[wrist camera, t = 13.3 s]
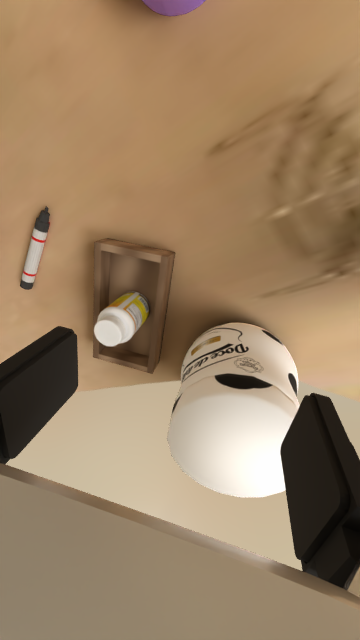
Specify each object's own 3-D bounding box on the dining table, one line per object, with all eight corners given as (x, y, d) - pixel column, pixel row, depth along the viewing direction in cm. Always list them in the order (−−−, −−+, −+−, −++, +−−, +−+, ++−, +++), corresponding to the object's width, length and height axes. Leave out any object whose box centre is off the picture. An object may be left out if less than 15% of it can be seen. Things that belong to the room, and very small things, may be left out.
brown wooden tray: (175, 252, 39) (168, 257, 35) (159, 360, 48) (152, 373, 44) (107, 238, 40) (94, 241, 37) (104, 346, 49) (93, 357, 45)
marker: (34, 287, 48) (26, 290, 46) (25, 281, 47) (17, 285, 46) (56, 209, 41) (48, 209, 39) (46, 202, 40) (37, 202, 39)
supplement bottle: (116, 312, 44) (83, 340, 35) (125, 284, 42) (92, 306, 33) (145, 326, 44) (120, 358, 35) (156, 299, 42) (132, 325, 33)
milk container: (205, 299, 41) (181, 361, 25) (312, 338, 39) (359, 429, 23) (176, 381, 49) (143, 468, 33) (264, 415, 47) (275, 523, 31)
